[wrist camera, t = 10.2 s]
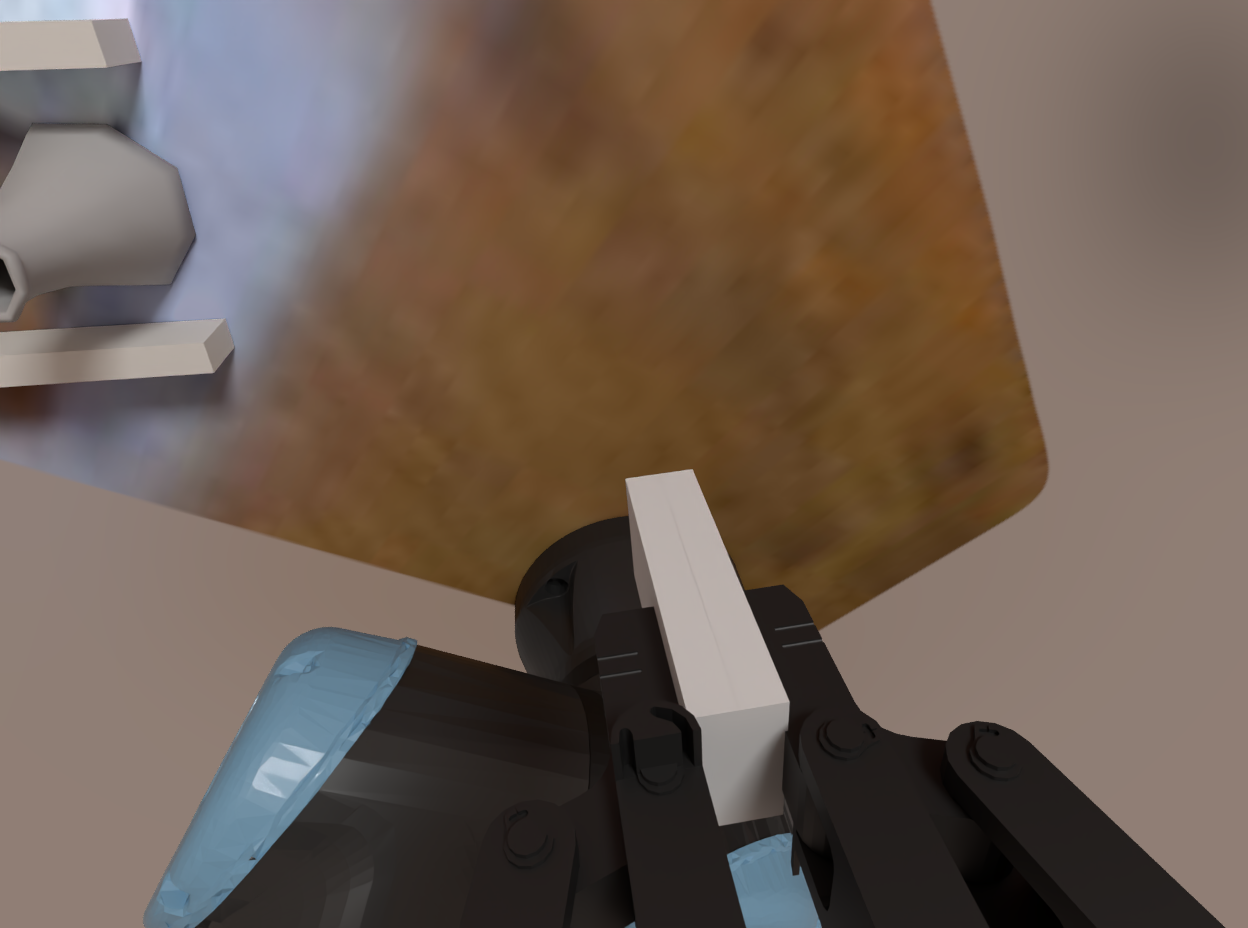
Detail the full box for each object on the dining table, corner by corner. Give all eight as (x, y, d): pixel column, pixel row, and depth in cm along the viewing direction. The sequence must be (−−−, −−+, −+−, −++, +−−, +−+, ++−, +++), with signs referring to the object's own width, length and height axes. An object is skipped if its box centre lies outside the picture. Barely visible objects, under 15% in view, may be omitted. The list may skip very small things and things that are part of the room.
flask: (203, 153, 32) (94, 207, 24) (192, 305, 35) (92, 401, 27) (9, 91, 30) (-186, 127, 22) (17, 259, 33) (-150, 346, 25)
